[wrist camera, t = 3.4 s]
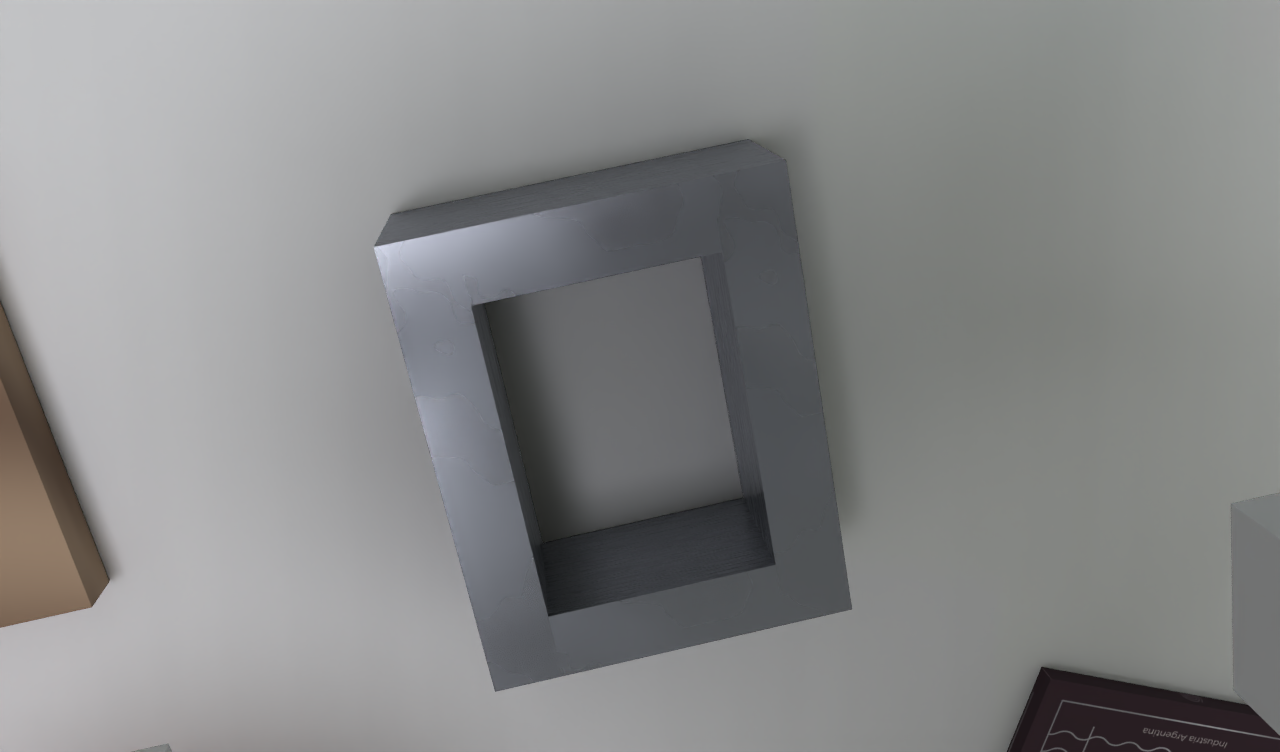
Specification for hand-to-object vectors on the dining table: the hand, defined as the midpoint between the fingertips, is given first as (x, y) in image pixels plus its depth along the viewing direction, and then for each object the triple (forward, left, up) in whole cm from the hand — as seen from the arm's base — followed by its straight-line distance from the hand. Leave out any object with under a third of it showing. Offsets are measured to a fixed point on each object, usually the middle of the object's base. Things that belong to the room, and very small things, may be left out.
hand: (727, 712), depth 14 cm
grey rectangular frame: (0, 0, -13) cm, 13 cm away
